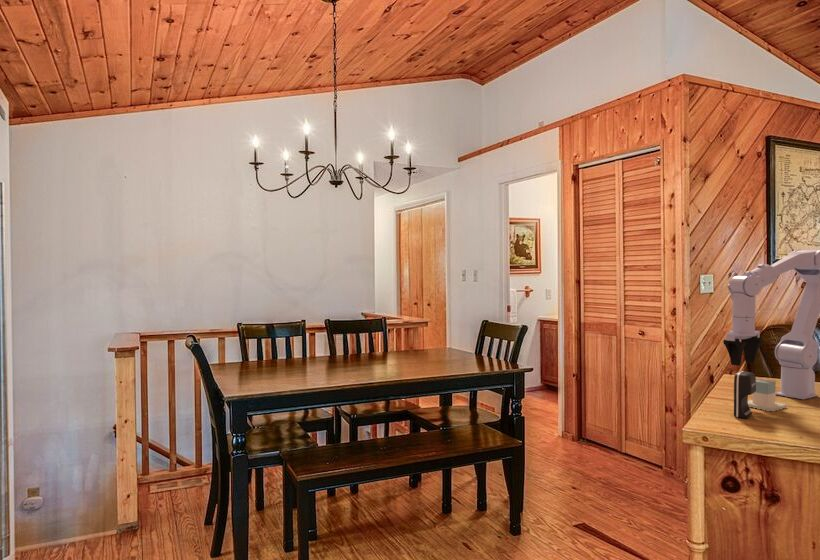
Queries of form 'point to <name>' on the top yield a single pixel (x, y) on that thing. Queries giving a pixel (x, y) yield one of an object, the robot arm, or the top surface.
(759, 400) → the brick stack
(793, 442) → the top surface
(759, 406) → the plate
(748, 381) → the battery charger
